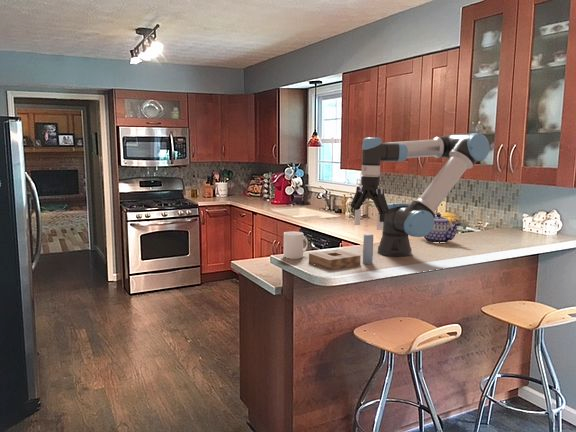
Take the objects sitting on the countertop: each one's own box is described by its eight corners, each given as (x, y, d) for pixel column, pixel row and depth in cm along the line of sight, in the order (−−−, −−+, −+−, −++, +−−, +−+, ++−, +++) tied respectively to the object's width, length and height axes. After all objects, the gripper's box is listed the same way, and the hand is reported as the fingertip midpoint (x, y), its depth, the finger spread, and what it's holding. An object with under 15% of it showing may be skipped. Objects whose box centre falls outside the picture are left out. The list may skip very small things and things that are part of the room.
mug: (313, 257, 215) (313, 233, 214) (290, 260, 209) (290, 235, 207) (301, 253, 223) (302, 230, 221) (279, 256, 216) (279, 232, 214)
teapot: (408, 239, 259) (409, 211, 257) (426, 236, 268) (427, 209, 266) (448, 247, 239) (450, 217, 237) (467, 244, 248) (469, 214, 246)
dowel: (367, 261, 208) (368, 233, 207) (374, 263, 205) (375, 235, 203) (360, 262, 206) (361, 234, 204) (367, 264, 203) (368, 236, 201)
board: (338, 258, 213) (338, 249, 213) (360, 264, 202) (360, 255, 201) (308, 262, 205) (308, 253, 204) (329, 269, 193) (329, 260, 193)
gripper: (343, 174, 208) (341, 223, 211) (385, 178, 188) (383, 232, 191) (357, 174, 213) (355, 222, 216) (399, 177, 192) (396, 231, 195)
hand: (368, 227), depth 203 cm, fingers open, 13 cm apart
